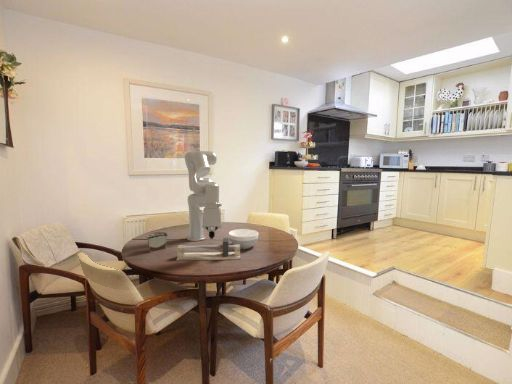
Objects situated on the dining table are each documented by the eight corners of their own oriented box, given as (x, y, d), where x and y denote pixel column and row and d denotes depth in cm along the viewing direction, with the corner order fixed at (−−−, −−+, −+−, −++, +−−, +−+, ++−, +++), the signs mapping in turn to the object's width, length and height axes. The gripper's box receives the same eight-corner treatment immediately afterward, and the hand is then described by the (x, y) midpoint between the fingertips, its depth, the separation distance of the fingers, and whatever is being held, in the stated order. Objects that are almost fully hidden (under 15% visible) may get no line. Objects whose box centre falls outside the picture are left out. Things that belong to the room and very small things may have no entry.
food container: (163, 246, 156) (163, 230, 155) (168, 248, 152) (167, 232, 151) (143, 250, 147) (142, 234, 146) (147, 253, 143) (147, 236, 142)
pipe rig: (180, 254, 142) (179, 243, 141) (239, 253, 145) (239, 242, 144) (176, 260, 133) (176, 249, 132) (240, 259, 136) (240, 247, 136)
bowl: (223, 248, 153) (223, 234, 153) (236, 240, 171) (236, 227, 170) (251, 252, 147) (251, 238, 146) (262, 243, 164) (262, 230, 163)
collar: (223, 251, 143) (223, 238, 142) (228, 251, 143) (228, 238, 143) (222, 256, 136) (222, 241, 135) (228, 256, 136) (228, 241, 135)
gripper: (225, 204, 141) (225, 236, 143) (199, 204, 139) (199, 236, 142) (225, 207, 133) (225, 240, 136) (197, 207, 132) (197, 240, 134)
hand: (211, 238), depth 139 cm, fingers closed
